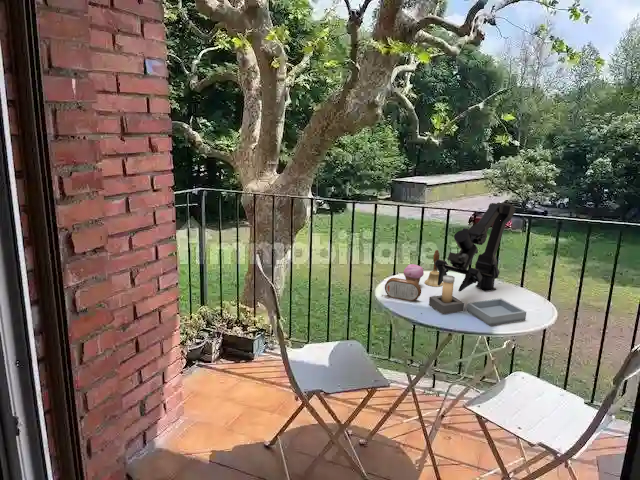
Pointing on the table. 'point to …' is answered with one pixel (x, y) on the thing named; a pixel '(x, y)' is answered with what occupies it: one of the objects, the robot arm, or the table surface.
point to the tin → (403, 289)
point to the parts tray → (496, 312)
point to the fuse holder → (446, 305)
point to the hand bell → (434, 273)
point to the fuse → (447, 288)
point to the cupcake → (413, 272)
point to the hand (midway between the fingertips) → (448, 287)
